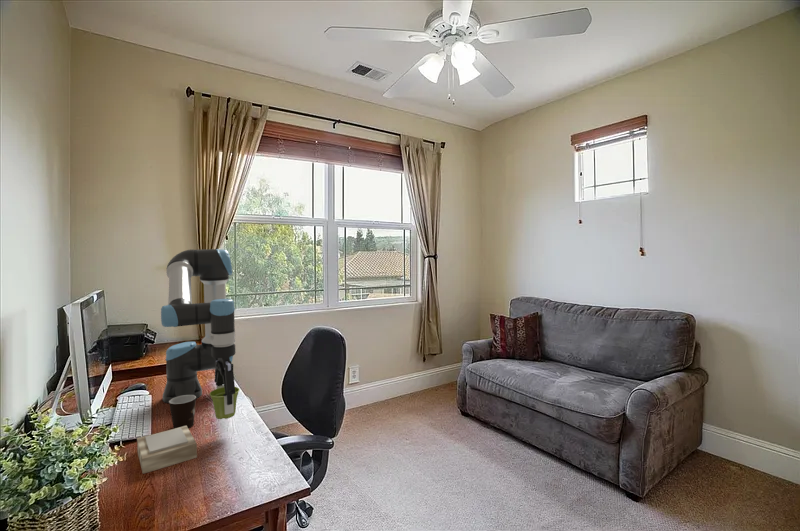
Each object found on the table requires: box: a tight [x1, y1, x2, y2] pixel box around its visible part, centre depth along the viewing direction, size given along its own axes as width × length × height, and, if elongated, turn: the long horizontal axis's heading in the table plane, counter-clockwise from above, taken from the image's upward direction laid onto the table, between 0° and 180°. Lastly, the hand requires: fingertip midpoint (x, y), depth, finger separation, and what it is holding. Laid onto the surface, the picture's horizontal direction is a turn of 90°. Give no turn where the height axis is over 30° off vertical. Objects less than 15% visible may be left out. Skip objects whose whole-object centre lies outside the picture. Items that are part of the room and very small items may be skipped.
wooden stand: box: [136, 425, 198, 474], centre depth 121 cm, size 16×14×5 cm
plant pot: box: [209, 386, 240, 420], centre depth 134 cm, size 9×9×9 cm
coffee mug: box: [168, 395, 197, 429], centre depth 143 cm, size 12×9×10 cm
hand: (225, 408), depth 134 cm, fingers closed on plant pot, 9 cm apart
